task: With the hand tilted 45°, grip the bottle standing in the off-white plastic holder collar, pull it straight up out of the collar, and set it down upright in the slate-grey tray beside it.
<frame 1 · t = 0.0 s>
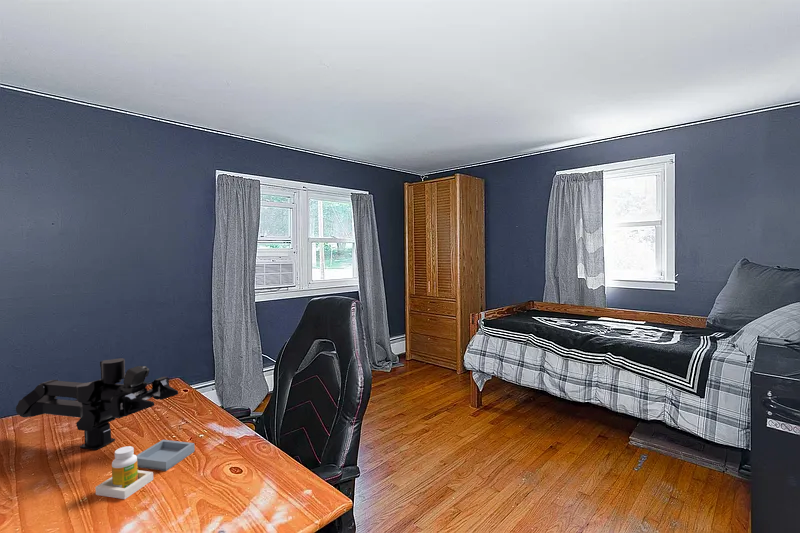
hand: (166, 398, 120), 17 cm above the table, tool horizontal, fingers open, 9 cm apart
supplement bottle: (125, 487, 104), resting in holder collar
tray: (164, 458, 118), on the table
holder collar: (125, 486, 104), on the table
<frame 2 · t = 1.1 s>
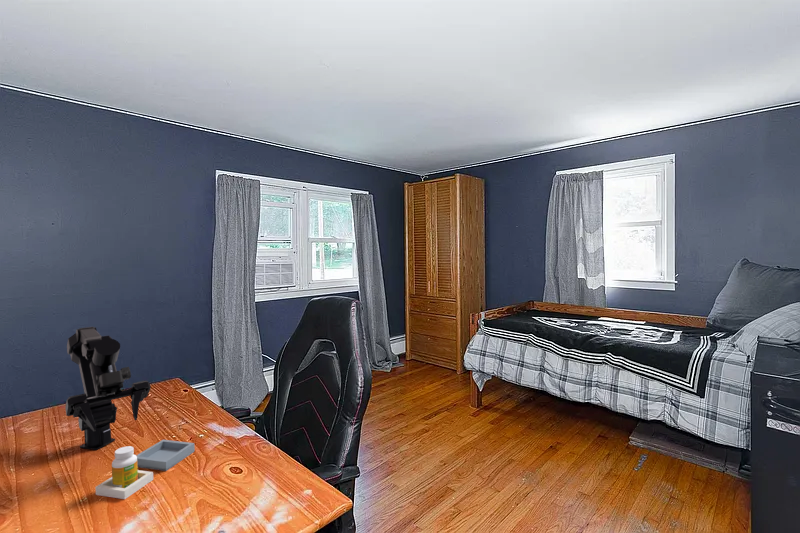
hand: (116, 424, 109), 14 cm above the table, tool tilted 45°, fingers open, 9 cm apart
nothing on the table moved.
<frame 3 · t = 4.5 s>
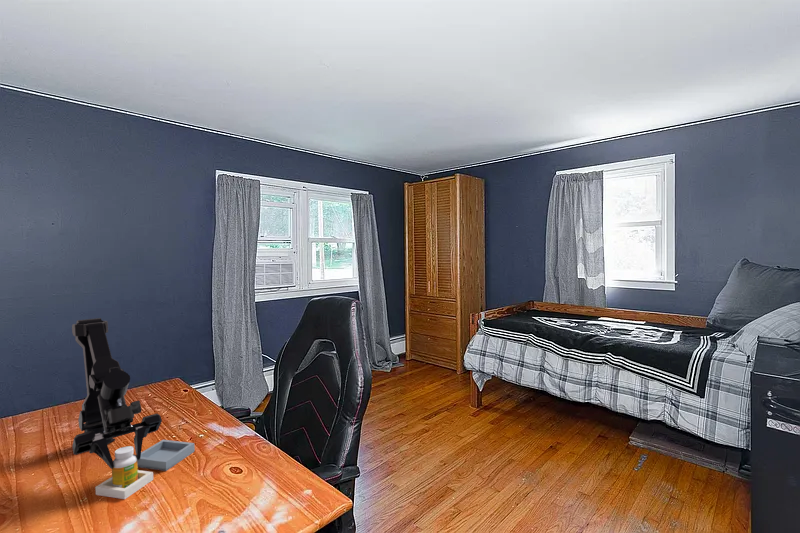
hand: (126, 463, 102), 7 cm above the table, tool tilted 45°, fingers closed on supplement bottle, 5 cm apart
supplement bottle: (125, 487, 104), resting in holder collar, touching gripper
when the fingers open (8 cm above the table, at t = 8.8 s): supplement bottle stays where it is, resting on tray.
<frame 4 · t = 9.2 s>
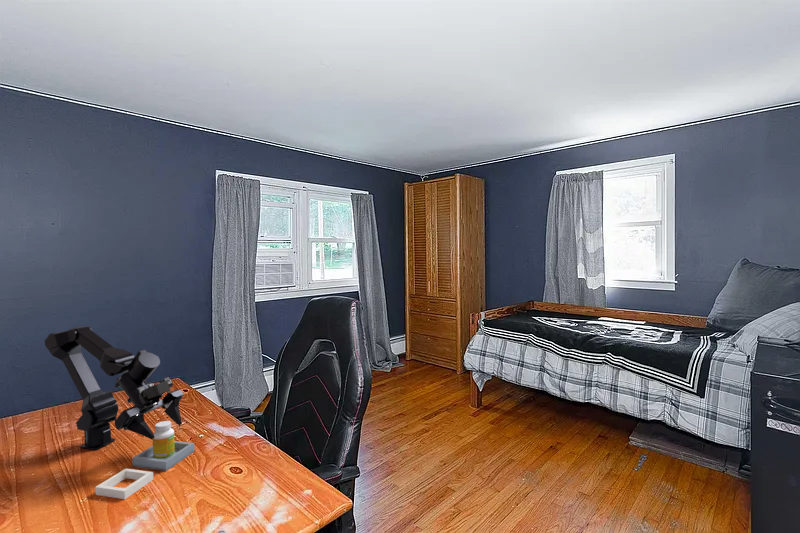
hand: (167, 431, 117), 8 cm above the table, tool tilted 45°, fingers open, 9 cm apart
supplement bottle: (164, 457, 118), resting on tray
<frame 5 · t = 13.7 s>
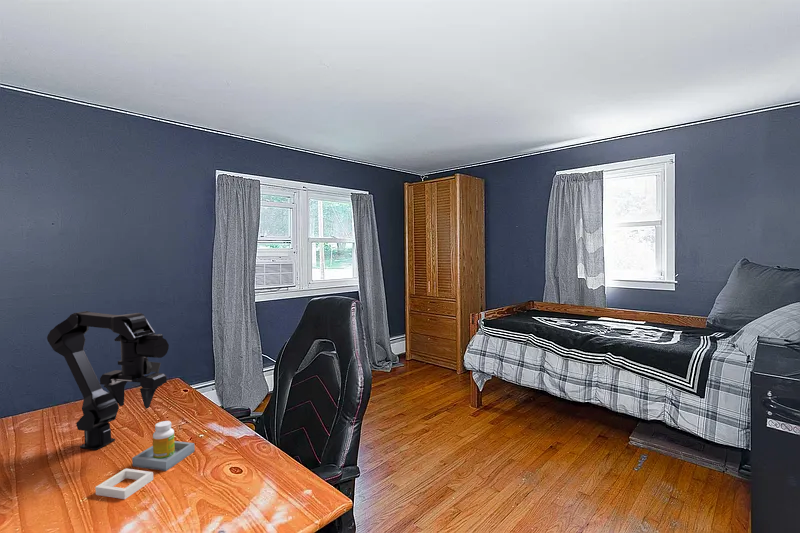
hand: (134, 406, 123), 13 cm above the table, tool pointing down, fingers open, 9 cm apart
nothing on the table moved.
at the end: supplement bottle 0.1 cm off-centre on the tray, point 0.4 cm above the tray's base; supplement bottle tilted 0°; the gripper is holding nothing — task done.
